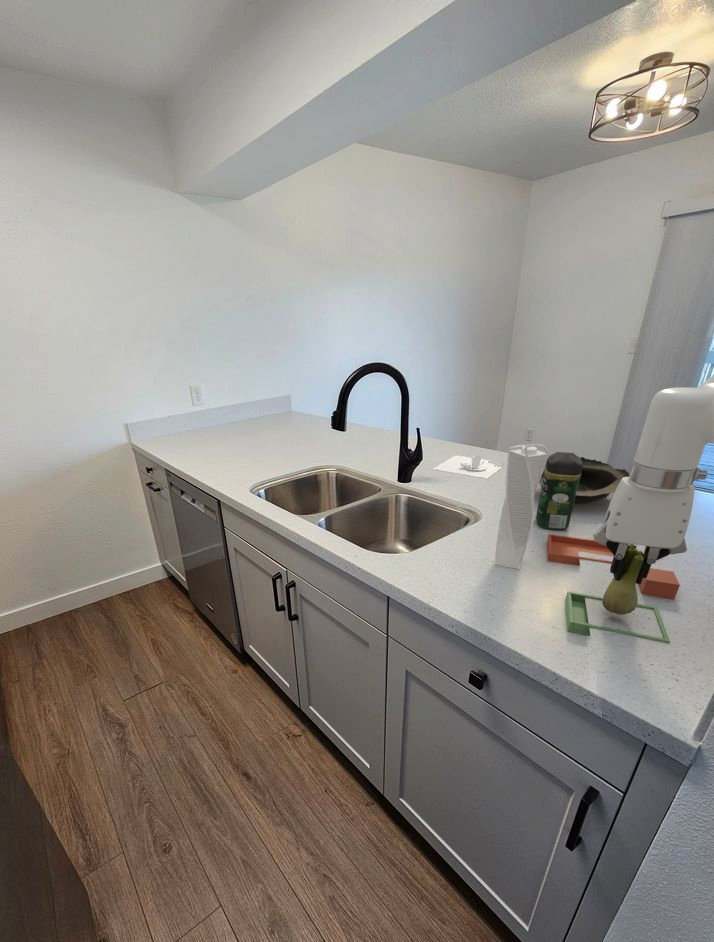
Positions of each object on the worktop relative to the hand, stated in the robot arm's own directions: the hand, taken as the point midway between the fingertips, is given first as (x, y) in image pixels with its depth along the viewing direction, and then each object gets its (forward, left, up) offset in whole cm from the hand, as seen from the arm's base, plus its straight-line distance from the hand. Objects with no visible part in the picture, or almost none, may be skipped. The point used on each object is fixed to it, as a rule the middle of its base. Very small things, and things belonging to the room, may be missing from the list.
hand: (626, 577), depth 74 cm
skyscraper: (+18, -17, -10) cm, 27 cm away
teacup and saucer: (+35, -86, -10) cm, 93 cm away
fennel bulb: (0, 0, -7) cm, 7 cm away
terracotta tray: (+3, -25, -10) cm, 27 cm away
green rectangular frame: (0, 0, -10) cm, 10 cm away
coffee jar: (+9, -42, -10) cm, 44 cm away
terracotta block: (-8, -12, -10) cm, 17 cm away
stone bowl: (+3, -63, -10) cm, 64 cm away
